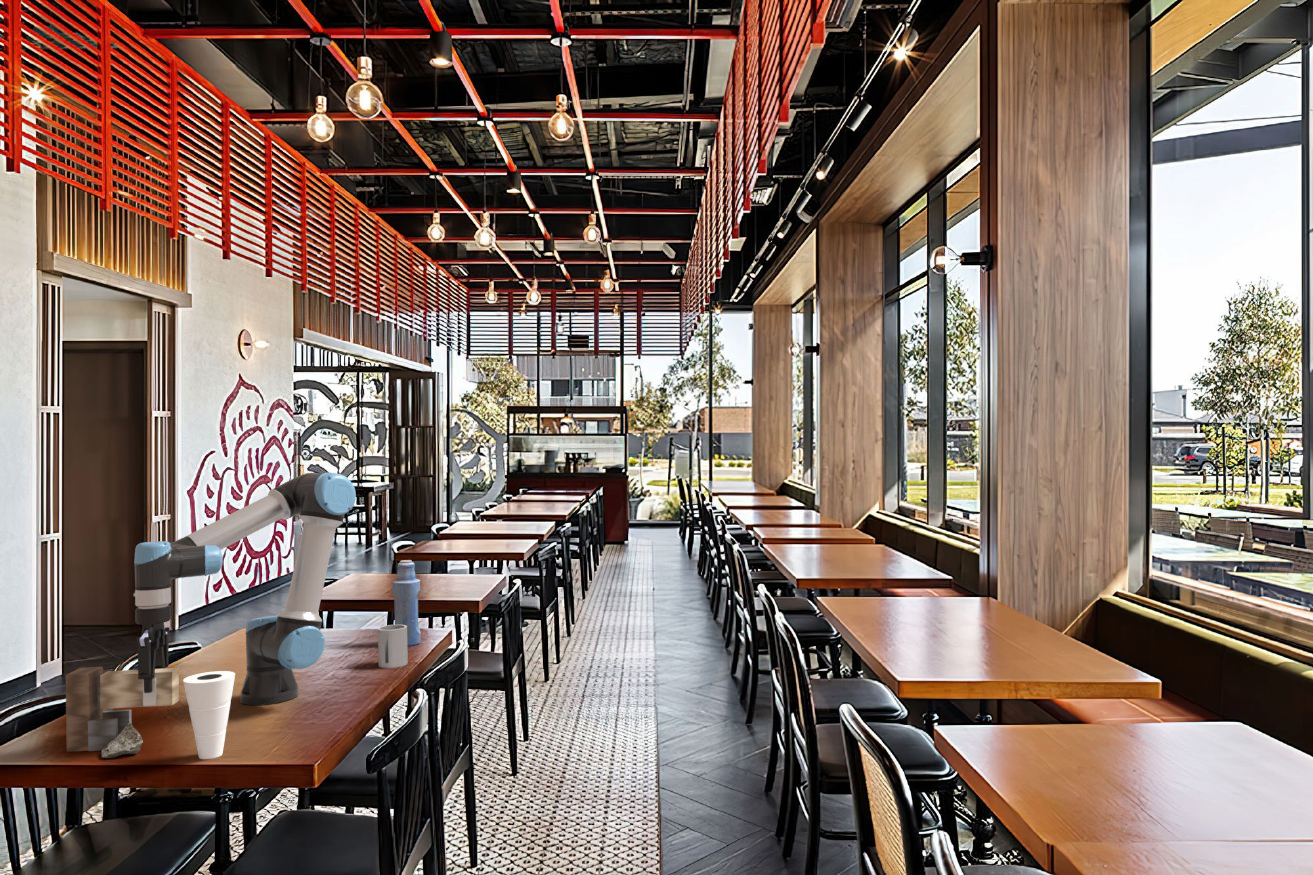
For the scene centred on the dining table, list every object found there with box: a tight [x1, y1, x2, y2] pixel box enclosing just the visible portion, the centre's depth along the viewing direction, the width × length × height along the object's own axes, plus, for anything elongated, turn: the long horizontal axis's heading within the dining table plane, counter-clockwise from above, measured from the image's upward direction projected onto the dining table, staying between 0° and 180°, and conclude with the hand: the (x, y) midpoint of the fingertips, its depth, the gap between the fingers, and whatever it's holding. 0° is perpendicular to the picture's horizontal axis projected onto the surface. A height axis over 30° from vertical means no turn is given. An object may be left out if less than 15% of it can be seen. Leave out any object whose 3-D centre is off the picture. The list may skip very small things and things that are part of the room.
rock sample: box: [100, 723, 144, 759], centre depth 203 cm, size 10×8×9 cm
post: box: [65, 666, 133, 753], centre depth 213 cm, size 11×17×18 cm, turn 9°
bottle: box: [391, 559, 422, 647], centre depth 314 cm, size 10×10×30 cm
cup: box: [377, 624, 409, 669], centre depth 284 cm, size 9×9×12 cm
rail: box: [98, 667, 180, 709], centre depth 211 cm, size 17×4×8 cm, turn 99°
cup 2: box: [182, 670, 236, 760], centre depth 200 cm, size 11×11×18 cm
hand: (154, 702), depth 211 cm, fingers closed on rail, 4 cm apart
